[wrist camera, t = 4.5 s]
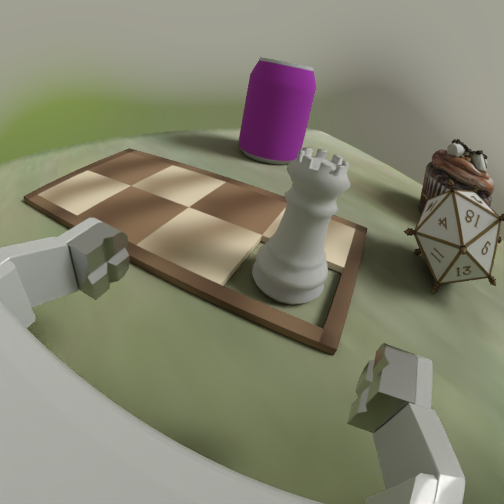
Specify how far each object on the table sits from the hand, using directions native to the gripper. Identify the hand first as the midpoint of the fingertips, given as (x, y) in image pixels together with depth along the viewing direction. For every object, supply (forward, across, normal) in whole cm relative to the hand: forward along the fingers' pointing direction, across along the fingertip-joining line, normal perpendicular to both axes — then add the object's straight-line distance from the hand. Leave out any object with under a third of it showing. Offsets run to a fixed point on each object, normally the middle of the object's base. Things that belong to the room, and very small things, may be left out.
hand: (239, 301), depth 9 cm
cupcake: (+31, -14, +6) cm, 34 cm away
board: (+12, +9, +6) cm, 16 cm away
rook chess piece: (+9, 0, +6) cm, 11 cm away
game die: (+17, -11, +6) cm, 21 cm away
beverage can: (+30, +10, +6) cm, 32 cm away
